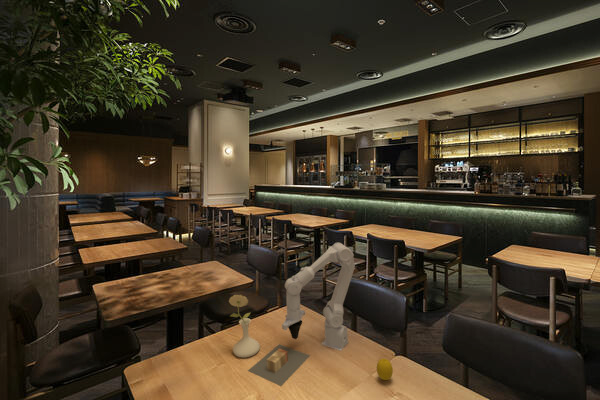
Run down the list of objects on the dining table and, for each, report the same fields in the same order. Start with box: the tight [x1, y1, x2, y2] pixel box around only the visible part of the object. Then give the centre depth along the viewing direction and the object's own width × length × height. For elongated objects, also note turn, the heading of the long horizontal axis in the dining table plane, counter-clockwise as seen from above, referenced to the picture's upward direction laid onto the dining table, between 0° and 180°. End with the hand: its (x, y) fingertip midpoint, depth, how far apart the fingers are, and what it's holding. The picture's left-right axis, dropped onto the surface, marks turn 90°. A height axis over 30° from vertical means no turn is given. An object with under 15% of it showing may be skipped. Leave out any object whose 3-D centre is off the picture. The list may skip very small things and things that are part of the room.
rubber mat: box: [247, 343, 311, 387], centre depth 116 cm, size 16×20×1 cm
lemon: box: [376, 358, 394, 381], centre depth 105 cm, size 6×6×8 cm
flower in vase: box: [228, 294, 261, 358], centre depth 124 cm, size 13×11×25 cm
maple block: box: [267, 348, 288, 373], centre depth 115 cm, size 4×4×8 cm
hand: (294, 337), depth 124 cm, fingers closed
